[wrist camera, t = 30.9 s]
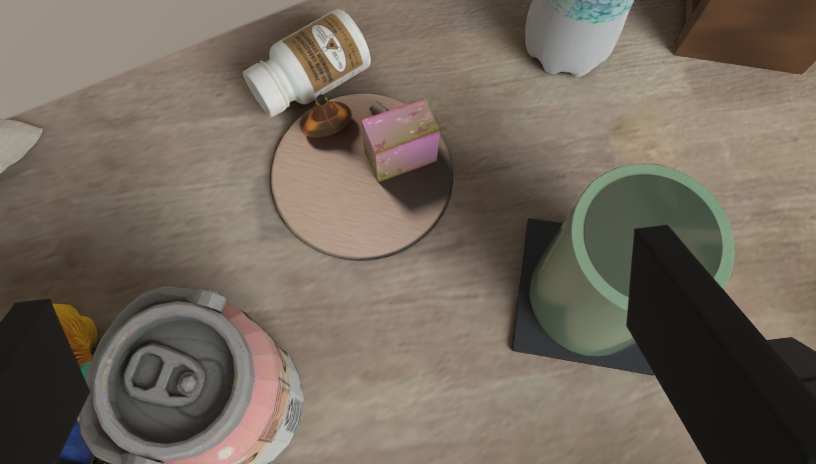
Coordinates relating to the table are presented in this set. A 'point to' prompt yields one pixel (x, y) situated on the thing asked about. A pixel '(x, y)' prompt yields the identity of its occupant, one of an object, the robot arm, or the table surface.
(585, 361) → the mat
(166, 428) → the beverage can
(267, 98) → the pill bottle
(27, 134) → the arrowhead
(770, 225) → the table surface
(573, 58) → the bottle
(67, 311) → the figurine
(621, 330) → the cup
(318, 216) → the round wooden tray
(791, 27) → the wooden nightstand
